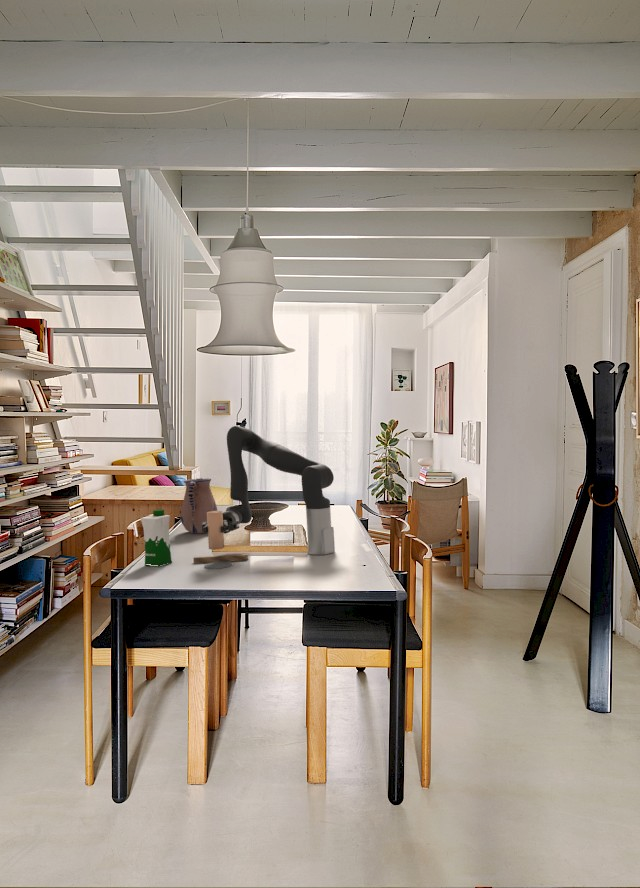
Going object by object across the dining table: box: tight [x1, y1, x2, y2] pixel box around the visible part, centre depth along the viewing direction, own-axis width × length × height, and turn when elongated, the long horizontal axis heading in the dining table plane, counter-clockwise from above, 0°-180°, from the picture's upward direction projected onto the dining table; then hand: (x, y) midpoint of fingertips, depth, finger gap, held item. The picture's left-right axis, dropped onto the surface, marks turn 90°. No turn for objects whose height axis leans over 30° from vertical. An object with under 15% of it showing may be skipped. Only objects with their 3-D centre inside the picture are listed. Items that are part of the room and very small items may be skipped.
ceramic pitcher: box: [180, 477, 218, 535], centre depth 337 cm, size 18×21×25 cm
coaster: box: [203, 561, 233, 570], centre depth 260 cm, size 10×10×1 cm
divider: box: [192, 553, 249, 564], centre depth 267 cm, size 20×2×2 cm, turn 91°
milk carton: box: [140, 509, 172, 567], centre depth 268 cm, size 9×9×20 cm
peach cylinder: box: [207, 510, 225, 551], centre depth 259 cm, size 6×6×13 cm
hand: (213, 529), depth 257 cm, fingers closed on peach cylinder, 5 cm apart
